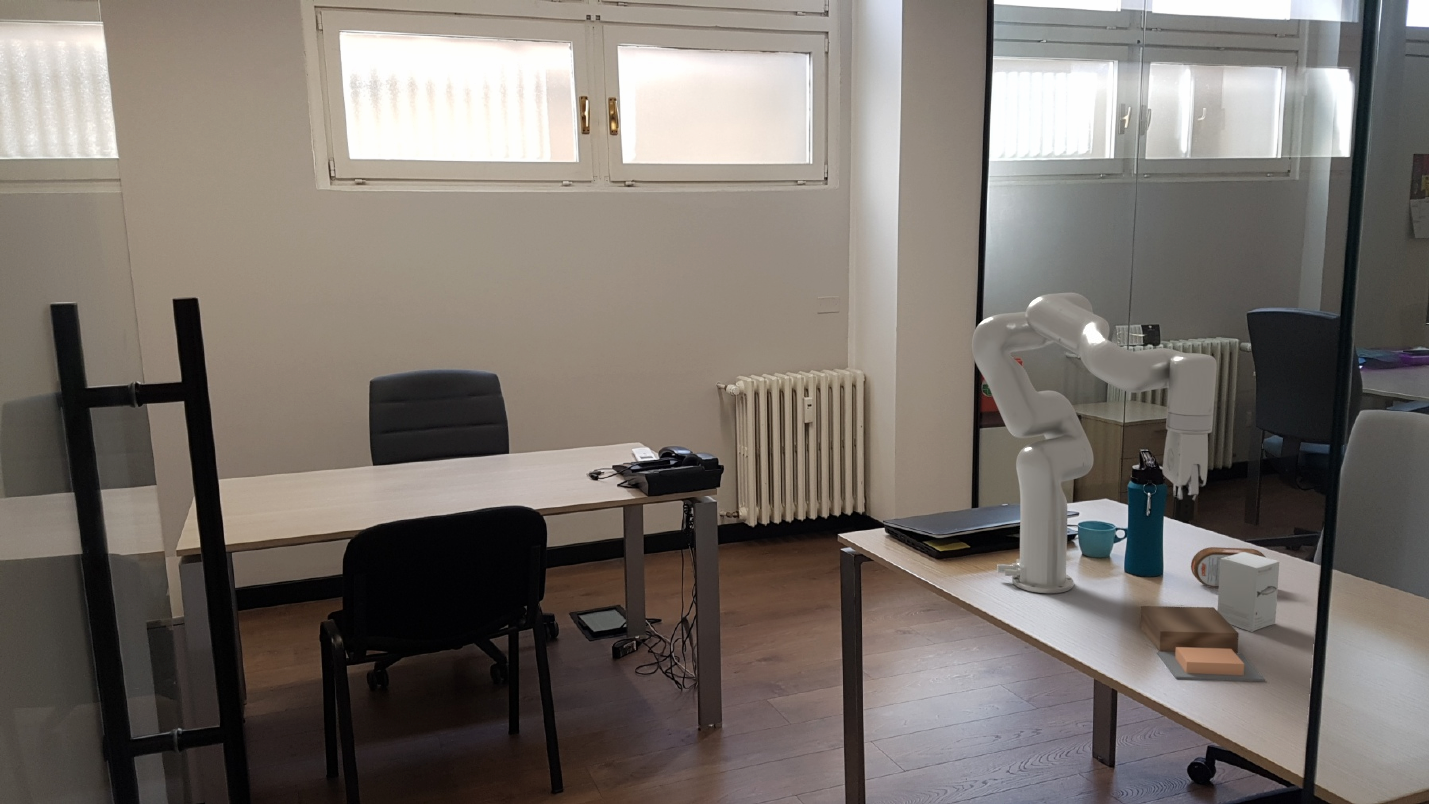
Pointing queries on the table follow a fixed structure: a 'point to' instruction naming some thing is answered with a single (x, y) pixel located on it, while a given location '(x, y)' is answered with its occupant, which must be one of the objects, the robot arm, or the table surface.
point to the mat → (1179, 673)
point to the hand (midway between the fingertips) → (1182, 518)
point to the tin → (1214, 563)
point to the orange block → (1209, 661)
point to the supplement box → (1248, 590)
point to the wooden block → (1187, 628)
